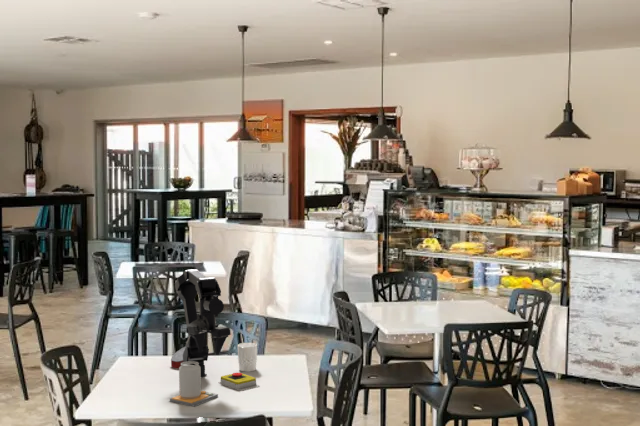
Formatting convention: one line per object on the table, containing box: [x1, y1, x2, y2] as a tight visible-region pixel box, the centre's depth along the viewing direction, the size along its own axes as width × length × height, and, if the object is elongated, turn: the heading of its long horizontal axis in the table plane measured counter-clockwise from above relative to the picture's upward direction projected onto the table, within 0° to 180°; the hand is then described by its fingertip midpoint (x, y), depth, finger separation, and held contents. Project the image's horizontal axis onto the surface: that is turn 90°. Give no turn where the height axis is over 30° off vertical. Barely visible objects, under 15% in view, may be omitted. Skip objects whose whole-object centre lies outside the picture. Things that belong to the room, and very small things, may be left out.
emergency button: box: [218, 372, 261, 392], centre depth 309 cm, size 9×4×15 cm
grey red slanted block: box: [170, 345, 186, 370], centre depth 337 cm, size 11×10×10 cm
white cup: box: [237, 342, 258, 372], centre depth 331 cm, size 8×8×10 cm
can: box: [178, 361, 202, 399], centre depth 289 cm, size 8×8×12 cm
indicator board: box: [169, 390, 219, 407], centre depth 291 cm, size 11×13×2 cm
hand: (209, 353), depth 305 cm, fingers open, 9 cm apart
